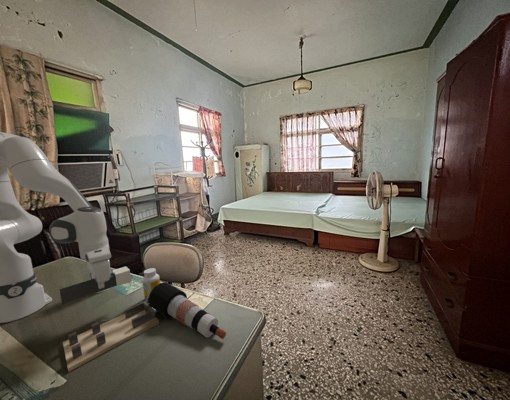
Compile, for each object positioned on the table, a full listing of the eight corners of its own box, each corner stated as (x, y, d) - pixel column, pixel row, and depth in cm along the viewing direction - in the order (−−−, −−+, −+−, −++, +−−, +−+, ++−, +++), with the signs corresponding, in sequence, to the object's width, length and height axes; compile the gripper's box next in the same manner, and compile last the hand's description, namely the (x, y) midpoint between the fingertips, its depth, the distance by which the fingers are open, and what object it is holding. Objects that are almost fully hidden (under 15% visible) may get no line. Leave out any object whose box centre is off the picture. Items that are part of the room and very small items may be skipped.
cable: (219, 358, 67) (208, 344, 62) (156, 312, 85) (143, 298, 80) (237, 327, 74) (228, 313, 68) (174, 291, 92) (164, 277, 86)
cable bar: (61, 299, 76) (59, 286, 75) (127, 277, 91) (125, 266, 90) (62, 305, 73) (60, 292, 72) (131, 281, 88) (130, 270, 87)
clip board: (63, 345, 70) (60, 333, 69) (144, 307, 87) (143, 298, 87) (68, 372, 60) (65, 358, 59) (158, 323, 78) (157, 312, 77)
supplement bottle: (164, 293, 97) (161, 266, 95) (158, 302, 90) (154, 273, 89) (149, 294, 97) (145, 267, 95) (142, 303, 90) (138, 274, 88)
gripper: (79, 246, 85) (84, 279, 87) (89, 260, 71) (95, 299, 73) (99, 242, 89) (103, 273, 91) (112, 254, 75) (116, 291, 77)
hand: (99, 285), depth 82 cm, fingers closed on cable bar, 4 cm apart
